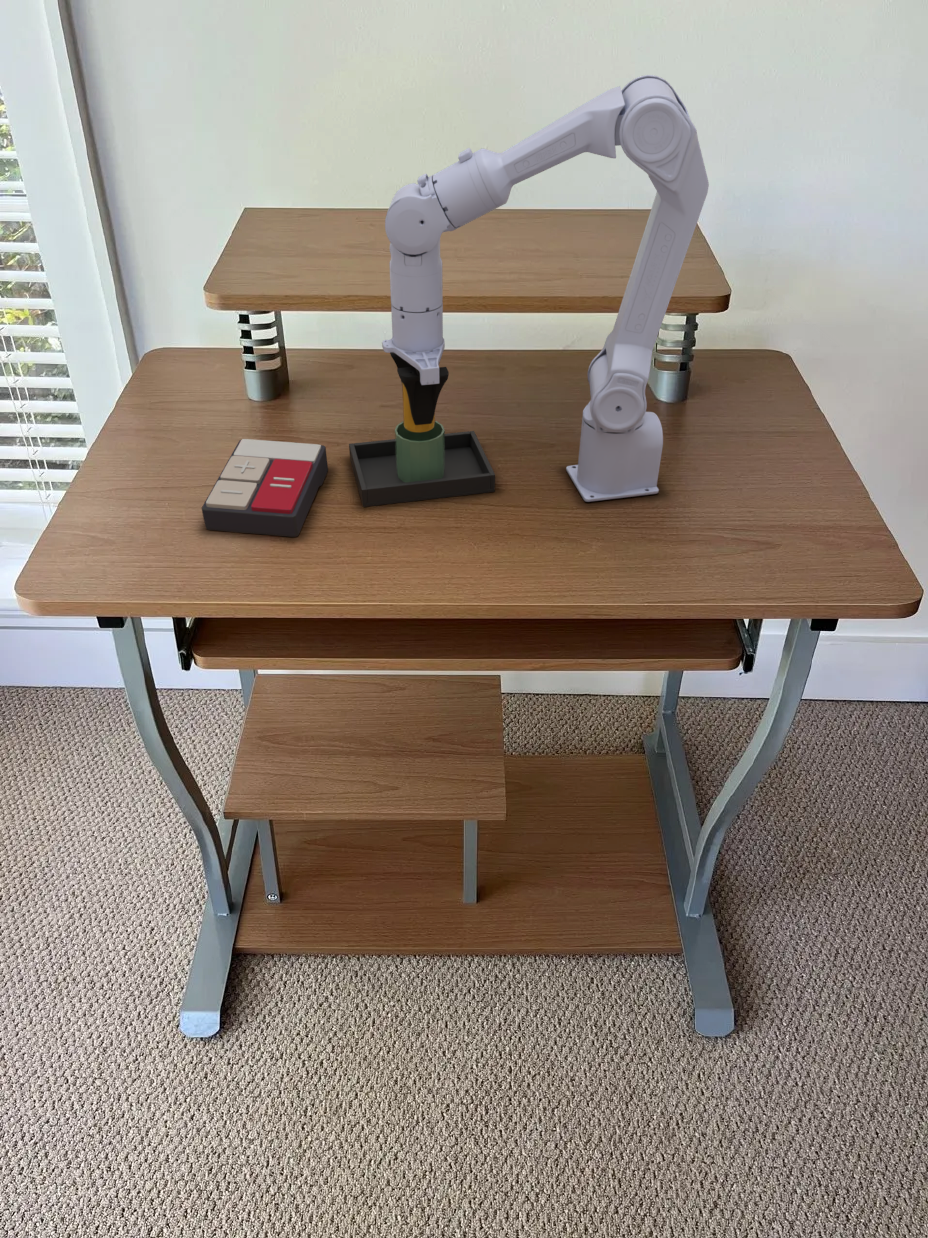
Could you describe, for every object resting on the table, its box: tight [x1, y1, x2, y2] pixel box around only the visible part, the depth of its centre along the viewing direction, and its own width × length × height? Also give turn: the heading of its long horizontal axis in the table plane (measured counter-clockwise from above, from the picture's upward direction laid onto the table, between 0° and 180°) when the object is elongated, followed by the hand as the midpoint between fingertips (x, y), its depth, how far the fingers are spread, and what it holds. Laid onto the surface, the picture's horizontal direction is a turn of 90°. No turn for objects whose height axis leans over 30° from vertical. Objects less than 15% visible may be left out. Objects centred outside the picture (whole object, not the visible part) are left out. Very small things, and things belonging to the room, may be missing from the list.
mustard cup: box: [401, 383, 436, 432], centre depth 117 cm, size 4×4×6 cm
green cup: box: [394, 420, 446, 482], centre depth 121 cm, size 6×6×6 cm
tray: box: [348, 430, 496, 508], centre depth 122 cm, size 16×11×2 cm
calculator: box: [201, 438, 329, 538], centre depth 117 cm, size 11×4×15 cm
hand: (419, 414), depth 118 cm, fingers closed on mustard cup, 4 cm apart
